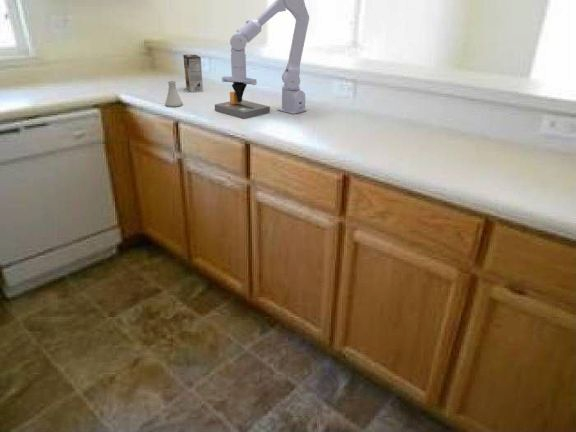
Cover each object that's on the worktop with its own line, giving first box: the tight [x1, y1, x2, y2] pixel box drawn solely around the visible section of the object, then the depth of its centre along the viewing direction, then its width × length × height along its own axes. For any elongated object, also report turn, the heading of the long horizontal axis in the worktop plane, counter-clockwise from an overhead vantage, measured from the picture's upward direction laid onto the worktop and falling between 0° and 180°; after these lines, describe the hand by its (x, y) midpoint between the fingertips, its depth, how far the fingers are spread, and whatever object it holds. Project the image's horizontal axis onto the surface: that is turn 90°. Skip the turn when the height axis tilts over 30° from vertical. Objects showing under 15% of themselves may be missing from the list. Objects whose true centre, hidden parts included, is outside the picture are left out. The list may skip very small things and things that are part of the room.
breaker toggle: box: [229, 91, 242, 104], centre depth 183 cm, size 2×4×4 cm, turn 137°
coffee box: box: [182, 54, 204, 93], centre depth 215 cm, size 9×6×16 cm
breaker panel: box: [214, 99, 271, 120], centre depth 182 cm, size 18×14×3 cm
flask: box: [164, 80, 184, 108], centre depth 188 cm, size 7×7×10 cm
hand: (239, 101), depth 181 cm, fingers closed
